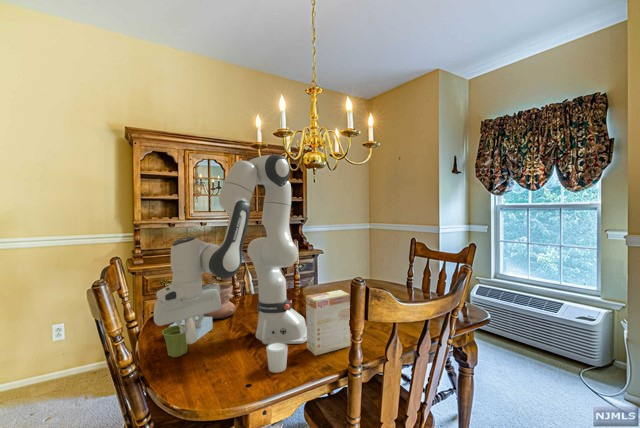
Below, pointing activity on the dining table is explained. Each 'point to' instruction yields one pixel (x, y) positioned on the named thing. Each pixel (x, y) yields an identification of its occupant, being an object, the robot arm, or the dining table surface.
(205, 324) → the socket block
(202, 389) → the dining table surface
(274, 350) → the shot glass
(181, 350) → the plant pot
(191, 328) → the dowel
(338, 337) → the coffeecake box
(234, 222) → the robot arm
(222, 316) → the ceramic jug
